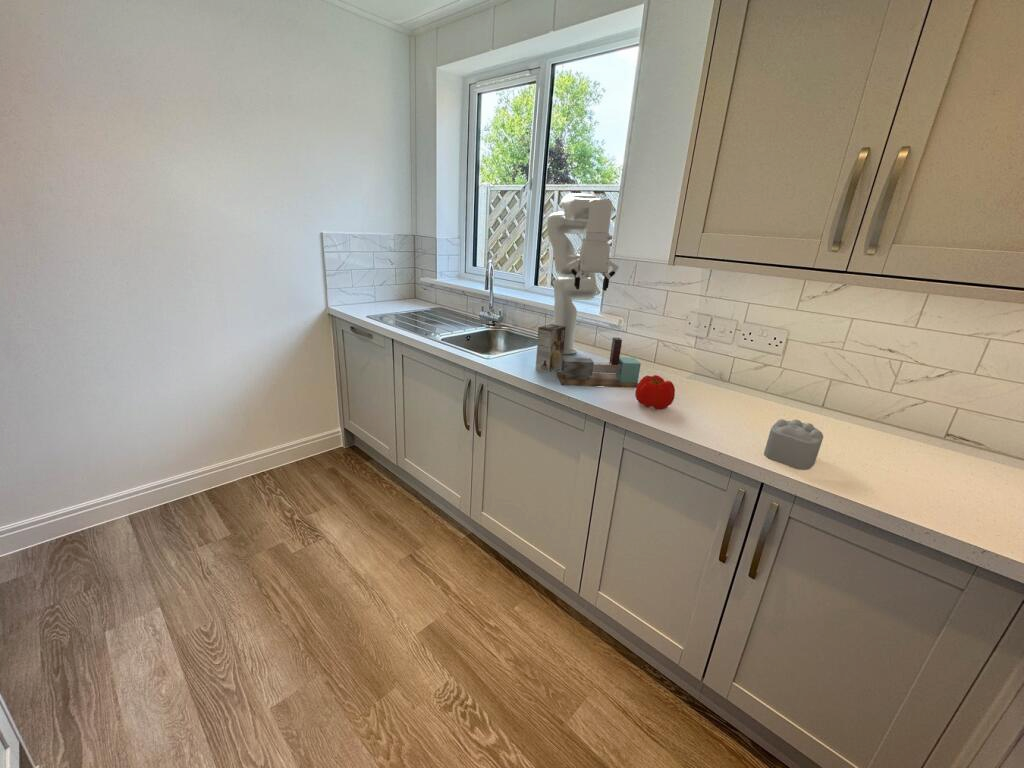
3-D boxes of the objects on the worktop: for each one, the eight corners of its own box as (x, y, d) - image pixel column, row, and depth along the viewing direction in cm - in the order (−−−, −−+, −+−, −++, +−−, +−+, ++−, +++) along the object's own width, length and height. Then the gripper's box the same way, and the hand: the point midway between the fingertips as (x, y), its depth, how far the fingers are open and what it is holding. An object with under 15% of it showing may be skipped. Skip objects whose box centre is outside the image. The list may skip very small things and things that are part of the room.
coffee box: (548, 364, 172) (551, 323, 167) (562, 368, 169) (566, 326, 164) (534, 369, 166) (538, 326, 160) (549, 373, 162) (553, 330, 157)
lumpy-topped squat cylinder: (759, 456, 110) (768, 424, 107) (775, 441, 119) (784, 411, 116) (807, 473, 103) (817, 439, 100) (820, 456, 112) (831, 424, 109)
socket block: (620, 382, 154) (623, 362, 152) (615, 375, 160) (617, 357, 158) (637, 382, 154) (640, 363, 152) (631, 376, 161) (634, 357, 159)
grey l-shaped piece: (586, 372, 154) (590, 338, 150) (584, 369, 157) (588, 336, 153) (631, 374, 155) (636, 340, 151) (628, 371, 158) (633, 338, 154)
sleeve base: (561, 385, 150) (563, 364, 148) (556, 373, 162) (558, 354, 159) (639, 388, 152) (642, 367, 150) (629, 376, 164) (632, 357, 161)
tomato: (627, 400, 141) (631, 373, 138) (660, 399, 144) (665, 372, 141) (644, 414, 131) (649, 385, 128) (680, 412, 134) (685, 384, 131)
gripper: (618, 239, 154) (612, 289, 160) (569, 236, 153) (564, 286, 159) (625, 240, 147) (617, 292, 153) (573, 237, 146) (568, 289, 152)
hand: (590, 289), depth 156 cm, fingers open, 9 cm apart
